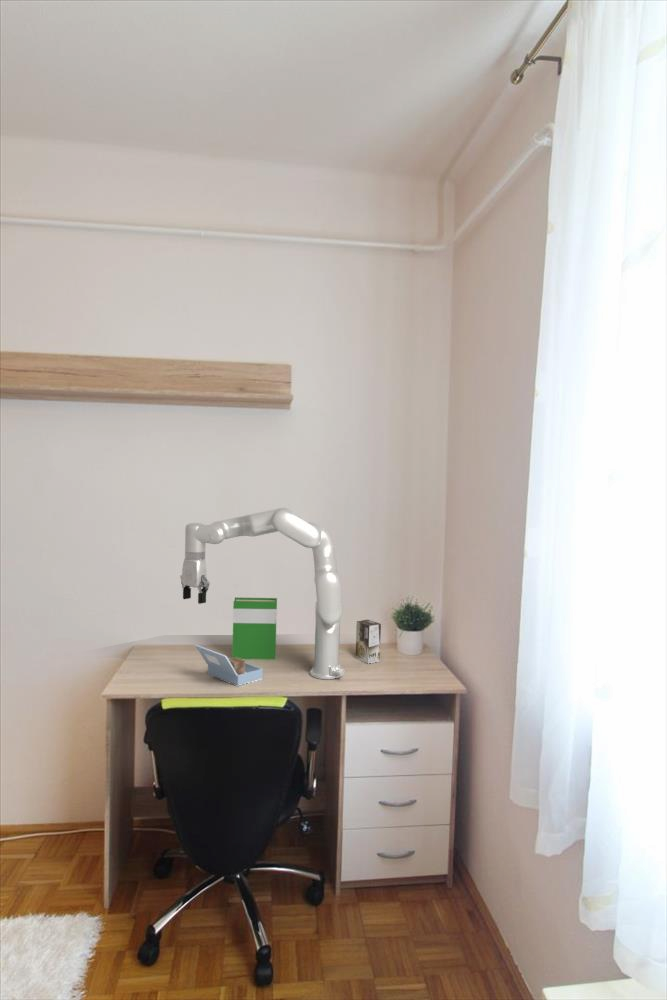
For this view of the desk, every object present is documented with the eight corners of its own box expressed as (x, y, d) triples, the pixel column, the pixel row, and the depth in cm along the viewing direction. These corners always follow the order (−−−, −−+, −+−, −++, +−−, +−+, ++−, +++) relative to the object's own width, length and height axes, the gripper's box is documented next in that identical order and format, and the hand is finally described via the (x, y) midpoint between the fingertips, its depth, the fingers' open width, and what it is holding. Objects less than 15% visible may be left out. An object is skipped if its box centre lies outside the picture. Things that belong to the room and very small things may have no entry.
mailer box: (262, 679, 251) (263, 668, 251) (237, 686, 243) (237, 675, 242) (232, 667, 264) (233, 657, 263) (207, 674, 255) (208, 664, 255)
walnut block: (234, 678, 250) (234, 662, 249) (225, 675, 253) (226, 659, 253) (244, 675, 253) (244, 660, 253) (236, 672, 257) (236, 657, 256)
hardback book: (232, 658, 275) (233, 601, 273) (233, 653, 282) (234, 597, 281) (275, 659, 276) (276, 602, 275) (275, 653, 284) (276, 598, 282)
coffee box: (380, 662, 277) (381, 623, 276) (368, 664, 273) (369, 625, 272) (367, 656, 285) (368, 618, 283) (354, 658, 281) (356, 620, 280)
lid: (226, 655, 238) (224, 656, 237) (237, 675, 242) (236, 676, 242) (196, 644, 250) (195, 645, 250) (208, 663, 255) (207, 664, 254)
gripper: (173, 554, 255) (172, 598, 256) (200, 560, 243) (199, 606, 244) (190, 552, 260) (189, 595, 261) (217, 558, 249) (216, 603, 250)
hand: (194, 600), depth 253 cm, fingers open, 9 cm apart
